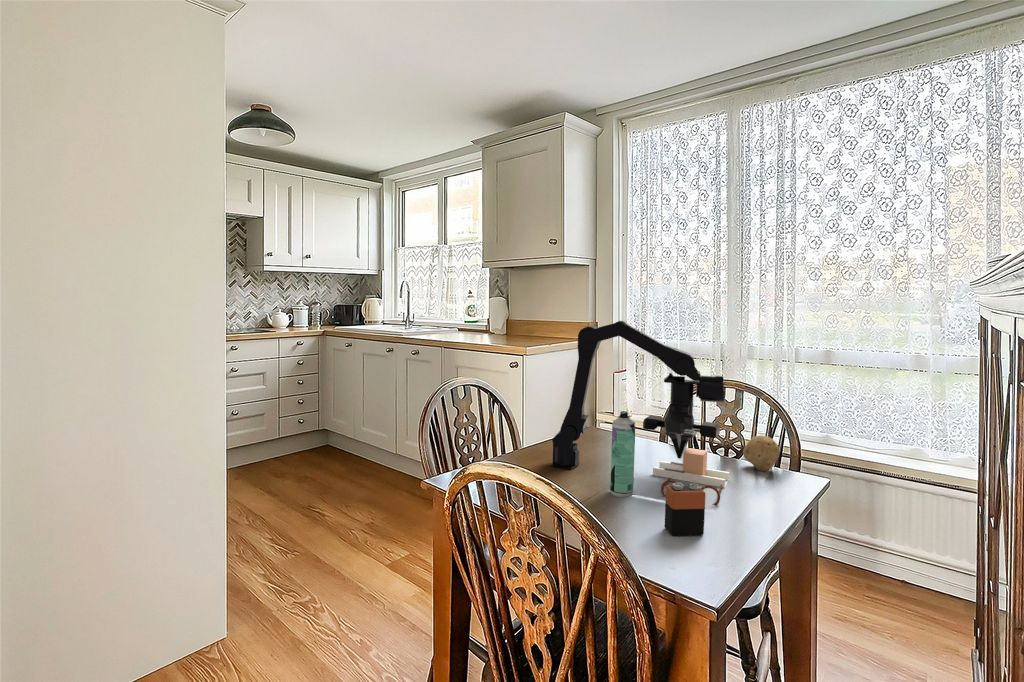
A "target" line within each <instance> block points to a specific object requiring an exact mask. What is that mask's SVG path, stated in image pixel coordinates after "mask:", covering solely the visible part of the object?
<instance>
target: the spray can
mask: <svg viewBox="0 0 1024 682" xmlns="http://www.w3.org/2000/svg"><path fill="white" fill-rule="evenodd" d="M611 426H612V427H611V454H610V455H611V456H610V457H611V458H610V483H609V485H610V486H609V487H610V488H609V489H610V490H609V492H610V494H611V495H613V496H615V497H619V498H627V497H628V498H629V497H632V496H633V495H634V482H635V481H634V479H635V477H634V474H635V451H636V450H635V448H636V422H635V421H634V420H632V419H631V416H630V415H629V413H628V411H625V410H624V411H620V414H619V416H617V418H616V419H614V420H612V425H611Z"/></svg>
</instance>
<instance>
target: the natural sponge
mask: <svg viewBox="0 0 1024 682" xmlns="http://www.w3.org/2000/svg"><path fill="white" fill-rule="evenodd" d="M779 454H780V447H779V445H778V443H777V442H776V441H775V440H774V439H773V438H771V437H770V436H767V435H762V434H760V435H755V436H754V437H752V438H751V439H750V440H749V441H748V442H747V444H746V445H745V446H744V448H743V450H742V456H743V457H744V459H745V460H746V461H747V462H749V463H750V464H752V466H754V467H755V469H757V470H759V471H763V472H768V471H769V470H771V469H772V468H773V467H774V466H775V464H776V463H777V461H778V459H779Z"/></svg>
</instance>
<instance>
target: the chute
mask: <svg viewBox="0 0 1024 682" xmlns="http://www.w3.org/2000/svg"><path fill="white" fill-rule="evenodd" d="M658 465H659V466H658V467H657V466H653V467H652V476H656V477H661V478H667V479H668V478H671V480H672V479H674V480H679V481H685V482H690V483H694V484H701V485H705V486H713V487H718V488H720V485H721V484H722V489H723V488H724V489H725V487H726V486H727V485H728V483H729V481H730V474H731V473H730V472H729V471H724V470H717V469H712V468H707V470H706V476H703V475H698V474H692V473H686V472H685V471H683V462H676V461H671V462H668V461H662V460H660V461H659V464H658Z"/></svg>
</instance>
